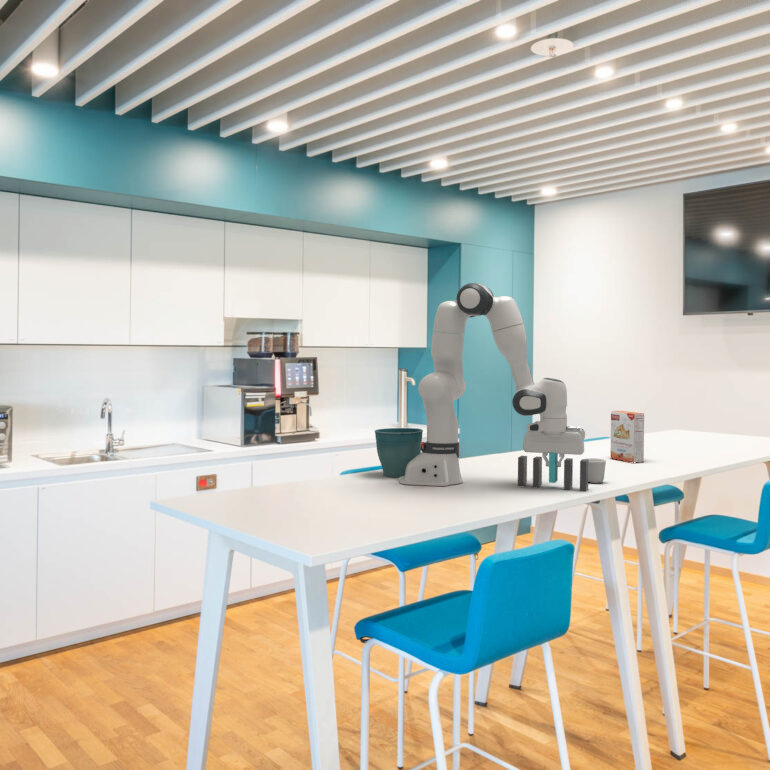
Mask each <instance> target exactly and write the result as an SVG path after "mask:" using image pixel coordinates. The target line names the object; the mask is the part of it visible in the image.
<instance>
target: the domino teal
mask: <svg viewBox="0 0 770 770" xmlns="http://www.w3.org/2000/svg"><path fill="white" fill-rule="evenodd" d="M558 459H559V454H556V453H548V461H549V467H548V483H550V484H556V483H557V481H558V472H559V471H558V470H559V467H556V461H559V460H558Z"/></svg>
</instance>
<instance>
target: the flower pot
mask: <svg viewBox="0 0 770 770" xmlns="http://www.w3.org/2000/svg"><path fill="white" fill-rule="evenodd" d="M423 432H424V430H423V429H420V428H413V427H390V428H379V429H378V428H377V429H375V430H374V434H375V435H374V436H375V444H376V452H377V456H378V460H379V462H380V466H381V468H382V472H383V473H382V474H383V476H384V477H389V478H400V477H401V476H405V470H406V466H407V464H408V463H409V462H410V461H411V460H412V459H414V458H415V457H416V456H417V455H419V454H420V453H421V452H422V451H421V446H420V443H421V442H423Z"/></svg>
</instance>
